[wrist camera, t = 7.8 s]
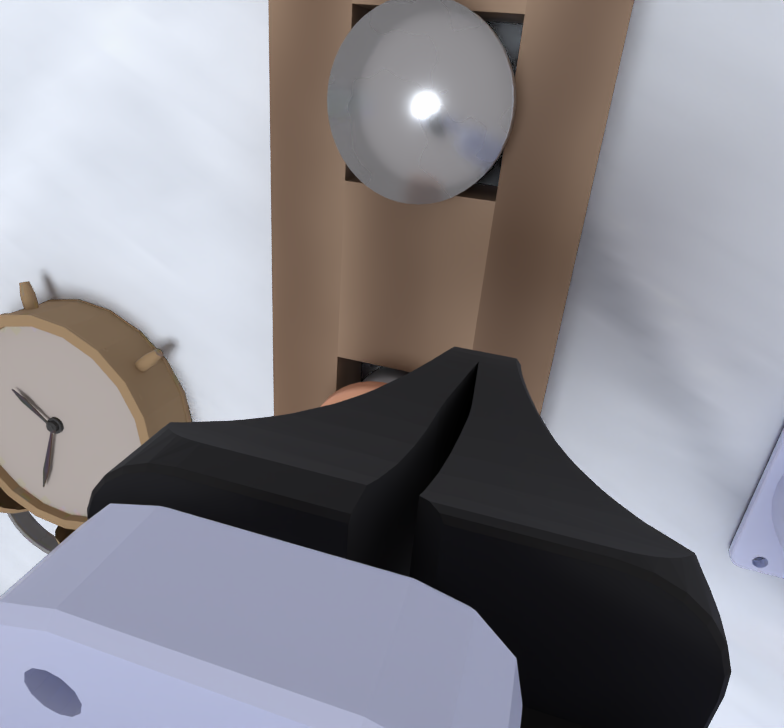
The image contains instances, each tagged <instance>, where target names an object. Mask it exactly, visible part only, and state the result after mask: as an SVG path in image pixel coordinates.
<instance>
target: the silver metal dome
mask: <svg viewBox="0 0 784 728" xmlns="http://www.w3.org/2000/svg"><path fill="white" fill-rule="evenodd" d="M515 110H516V84H515V77H514V72H513V68H512V65H511V61H510V59H509V56H508V54H507V51H506V49H505V47H504V45H503V44H502V42H501V40H500V39H499V37H498V35H497V34H496V33H495V32H494V30H493V29H492V28H491V27H490V25H488V24H487V23H486V22H485V21H484V20H483V19H482V18H481V17H480V16H479V15H477V14H476V13H474V12H473V11H471V10H470V9H468V8H467V7H465V6H464V5H462V4H460V3H457V2H455V1H453V0H389V1H386V2H385V3H383V4H381V5H379V6H377V7H375V8H374V9H373V10H371V11H370V12H368V13H367V14H366V15H365V16H364V17H362V18H361V19H360V20H359V21H358V22H357V23H356V24H355V26H354V27H353V28H352V29H351V31H350V32H349V33H348V34H347V36H346V38H345V39H344V41H343V43H342V44H341V46H340V48H339V50H338V52H337V55H336V57H335V59H334V62H333V66H332V69H331V72H330V78H329V83H328V93H327V111H328V118H329V124H330V128H331V132H332V136H333V139H334V141H335V144H336V147H337V149H338V151H339V153H340V155H341V157H342V158H343V160H344V161H345V163H346V164H347V166H348V167H349V169H350V170H351V171H352V172H353V174H354V175H355V176H356V177H357V178H358V179H359V180H360V181H361V182H362V183H364V184H365V185H366V186H367V187H369V188H370V189H371V190H373V191H374V192H376V193H378V194H380V195H382V196H384V197H386V198H388V199H391V200H394V201H397V202H402V203H406V204H431V203H436V202H440V201H443V200H446V199H449V198H452V197H454V196H456V195H458V194H460V193H462V192H463V191H465V190H466V189H468V188H469V187H470V186H472V185H473V184H475V183H476V182H477V181H478V180H479V179H481V178H482V177H483V176H484V175H485V174H486V173H487V172H488V171H489V170H490V168H491V167H492V166H493V165H494V164H495V162H496V161H497V159H498V158H499V156H500V155H501V153H502V151H503V149H504V147H505V145H506V143H507V141H508V138H509V136H510V133H511V130H512V126H513V122H514V117H515Z"/></svg>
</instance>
